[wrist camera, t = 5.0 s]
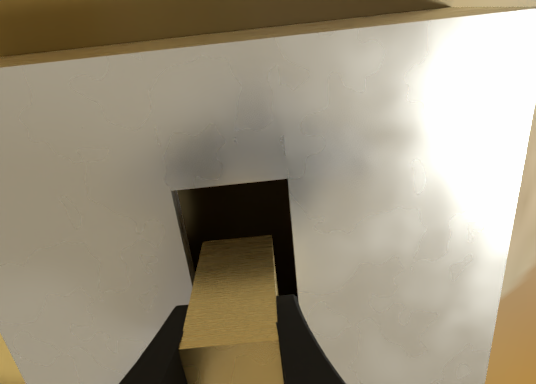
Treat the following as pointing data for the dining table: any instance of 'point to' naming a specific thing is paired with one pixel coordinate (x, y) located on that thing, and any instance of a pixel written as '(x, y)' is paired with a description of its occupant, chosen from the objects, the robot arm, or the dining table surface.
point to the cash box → (265, 169)
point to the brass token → (233, 315)
